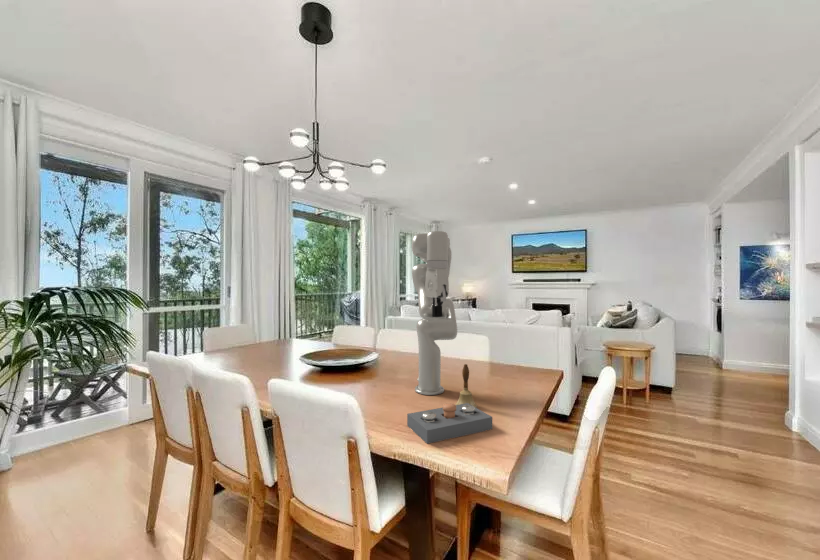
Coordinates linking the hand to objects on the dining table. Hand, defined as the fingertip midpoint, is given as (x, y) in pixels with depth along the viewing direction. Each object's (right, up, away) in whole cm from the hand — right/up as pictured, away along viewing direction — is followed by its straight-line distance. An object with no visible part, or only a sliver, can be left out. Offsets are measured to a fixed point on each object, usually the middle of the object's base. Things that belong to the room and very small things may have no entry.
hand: (437, 316), depth 128 cm
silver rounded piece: (+10, -35, -8) cm, 37 cm away
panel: (+3, -35, -11) cm, 37 cm away
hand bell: (+12, -35, +8) cm, 38 cm away
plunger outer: (-4, -35, -15) cm, 38 cm away
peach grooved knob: (+3, -33, -11) cm, 35 cm away
